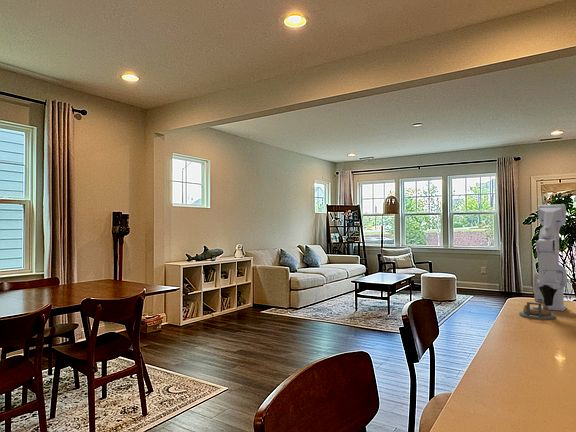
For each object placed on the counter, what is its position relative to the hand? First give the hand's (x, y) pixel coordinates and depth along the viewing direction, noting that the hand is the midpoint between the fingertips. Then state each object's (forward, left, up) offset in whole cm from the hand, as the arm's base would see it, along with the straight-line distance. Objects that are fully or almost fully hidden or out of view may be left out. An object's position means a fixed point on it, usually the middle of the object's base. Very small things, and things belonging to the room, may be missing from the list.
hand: (548, 305), depth 157 cm
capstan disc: (+2, -4, -3) cm, 5 cm away
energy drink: (-33, -8, -4) cm, 35 cm away
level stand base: (+2, -4, -4) cm, 6 cm away
